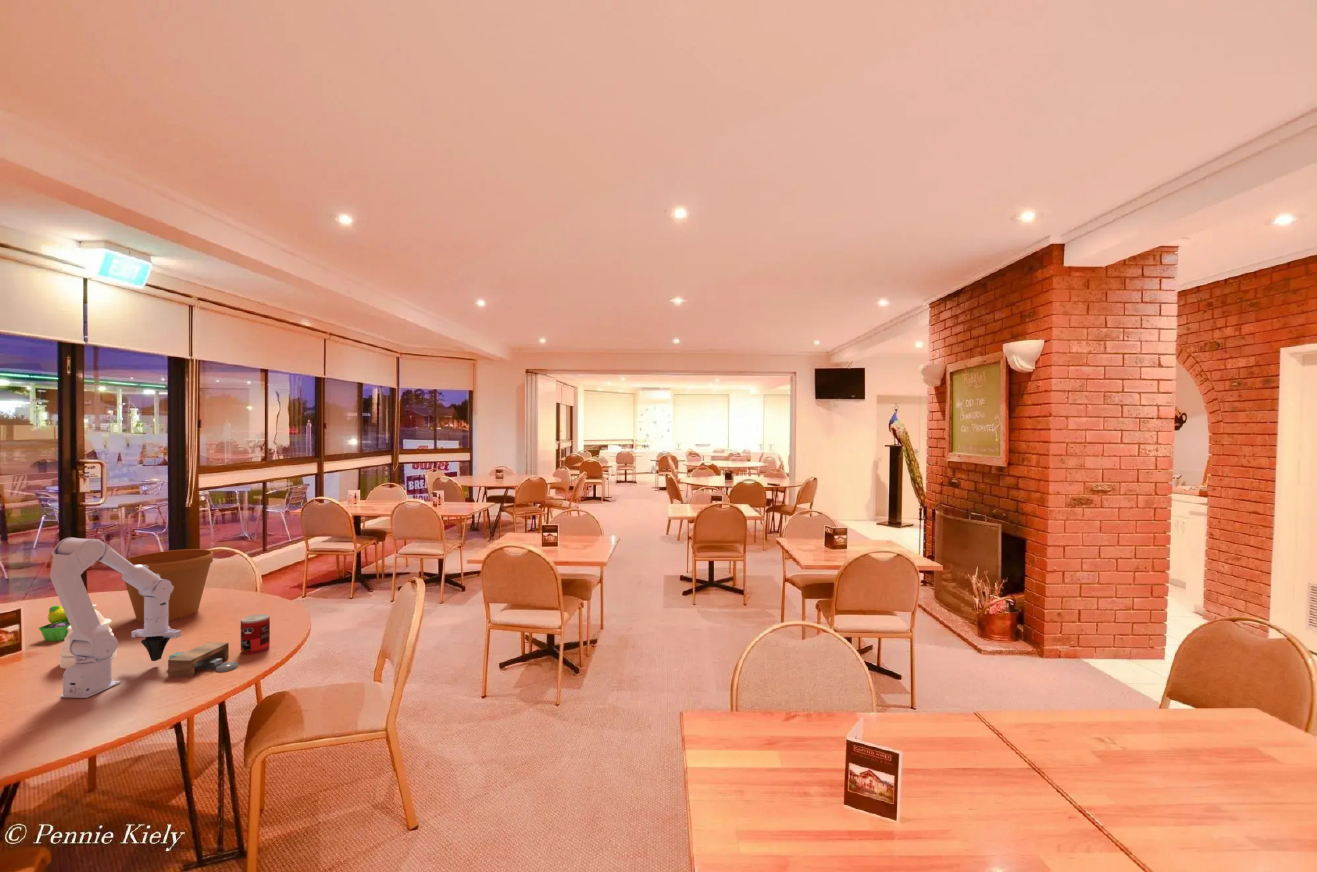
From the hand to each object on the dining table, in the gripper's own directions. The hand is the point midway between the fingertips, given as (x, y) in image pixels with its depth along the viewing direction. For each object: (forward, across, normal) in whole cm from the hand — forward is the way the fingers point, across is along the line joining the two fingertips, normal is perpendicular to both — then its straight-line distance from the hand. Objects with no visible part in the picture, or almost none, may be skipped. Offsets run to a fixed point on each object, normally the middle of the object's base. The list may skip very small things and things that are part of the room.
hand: (156, 659), depth 175 cm
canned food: (+2, -21, -14) cm, 26 cm away
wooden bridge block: (+2, -14, 0) cm, 14 cm away
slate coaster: (+2, -23, 0) cm, 24 cm away
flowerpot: (+2, +41, -46) cm, 62 cm away
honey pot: (+2, +26, -3) cm, 26 cm away
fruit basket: (+2, +57, -22) cm, 61 cm away
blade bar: (+2, -13, 0) cm, 13 cm away
